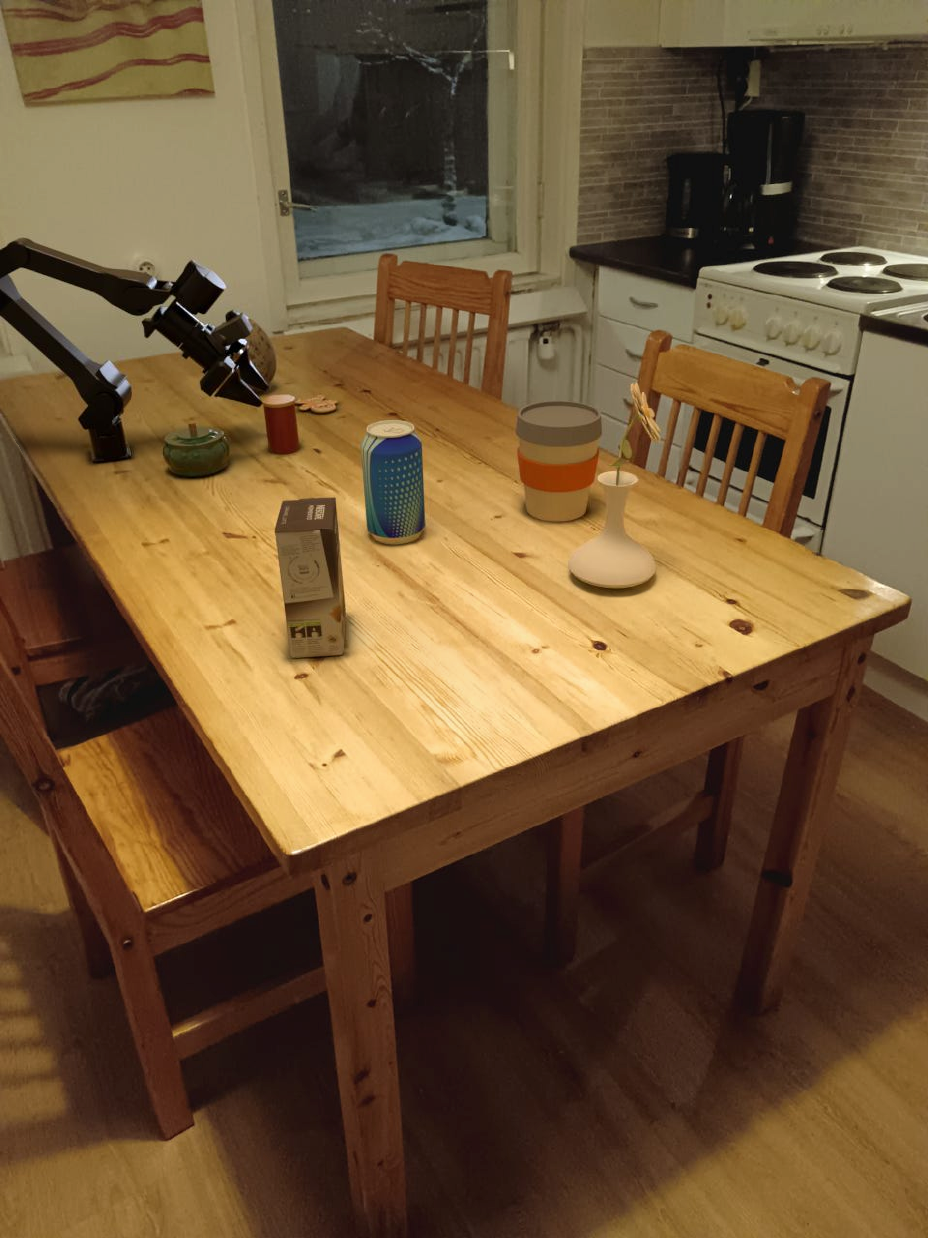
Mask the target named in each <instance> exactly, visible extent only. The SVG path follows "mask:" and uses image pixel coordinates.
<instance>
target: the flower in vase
mask: <svg viewBox="0 0 928 1238" xmlns="http://www.w3.org/2000/svg"><path fill="white" fill-rule="evenodd" d="M630 394H631V397H632V398H631V399H632V401H633V404H634V407H635V410H636V412H635V415H634V416H633V418H632V420H631V422H630V423H629V424H628V426H627V428H626V430H625V432H624V434H623V436H622V438H621V441H620V444H619V445H620V446H619V451H618V458H617V460H615V462H613V463H610V464H608V466H609V467H616V470H609V471H605V472H602V473H600V474H598V475H597V478H596V479H597V481H598V483H599V484H600V485H601V487H602V488H603V492H604V496H605V497H604V498H605V506H606V516H605V524H604V527H603V530H602V531H601V532H600V533H598V534H597V535H596V536H595V537H593V538H591V539H589V540H587V541H585V542H584V543H582V544H581V545H579V546H578V547H577V548H576V549H575V550H574V551H573V552H572V553H571V555H570V557H569V559H568V562H567V564H568V568H569V570H570V572H571V573H572V575H573V576H574V577H575V578H576V579H578V580H580V581H581V582H582V583H585V584H588V585H591V586H595V587H599V588H605V589H606V588H607V589H625V588H632V587H637V586H639V585H641V584H644V583H646V582H648V581H649V580H650V579H651V578H652V577H653V575H654V574H655V573H656V571H657V564H656V562H655V558H654V557H653V555H652V554H651V553H650V552H649V550H647V548H645V547H644V546H643V545H641V544H640V543H639V542H637V541H636V540H635V539H633V538H632V537H630V536H629V535H628V533H627V531H626V529H625V511H626V505H627V501H628V497H629V494H630V492H631V490H632V489H633V488H634V487H635V485H636V484H637V483H638V481H639V478H638V476H637V475H635V474H634V473H631V472H628V471H622V470H621V466H622V465H625V464H627V463H629V462H630V459H631V458H632V456H633V449H632V447H631V444H630V441H629V440H627V439H626V438H627V436H628V434H629V432H630V431H631V429H632V427H633V425H634V423H635V422H636V421H637V420H638V421H640V422H641V424H642V426H643V428H644V430H645V431H646V433H647V435H648V437H649V438H650V440H651V441H652V442H654V443H658V441H659V442H660V441H662V438H661V436H660V434H659V433H661V428H660V426H659V425H658V424H657V423H656V421H655V420H654V418H655V415H656V414H655V412H654V410H653V408H651V407H649V403H648V402H647V401H648V400H647V395H646V393H645V392H644V391H642V392H641V390H640V386H639V383H638V382H637V381H636V382H635V383H633V382H632V383H631V384H630ZM622 454H623V456H624V457H625V458H626V459H627V460H626V459H624V458H622Z"/></svg>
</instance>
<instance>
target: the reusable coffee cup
mask: <svg viewBox="0 0 928 1238" xmlns="http://www.w3.org/2000/svg"><path fill="white" fill-rule="evenodd" d="M515 424H516V425H515V435H516V436H517V440H518V447H517V451H516V454H517V462H518V463H517V464H518V470H519V471H518V472H519V480H520V481H521V483H522V485H523V491H524V498H525V506H526V507H525V508H526V512H527V513H528V515H530V516H531V517H533V518H535V519H538V520H541V521H546V522H555V523H556V522H559V523H560V522H569V521H573V520H577V519H579V518H581V517H583V516H584V515H585V513H586V511H587V506H588V501H589V496H590V489H591V486H592V485H593V483H594V482H595V478H596V472H597V467H598V462H599V456H600V449H599V447H598V446H599V441H600V438H601V437H602V436H603V425H602V412H601V411H600V409H599V408H598V407H595V406H594V405H591V404H588V403H585V402H579V401H572V400H546V401H544V400H543V401H538V402H533V403H530V404H527V405H524V406H522V407H521V408H519V410H518V411H517V416H516V423H515Z"/></svg>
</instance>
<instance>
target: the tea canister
mask: <svg viewBox="0 0 928 1238" xmlns="http://www.w3.org/2000/svg"><path fill="white" fill-rule="evenodd" d="M261 401H262V402H263V404H262V407H263V415H264V423H265V431H266V439H267V447H268V451H269V452H270V453H272V454H276V455H286V454H287V455H288V454H292V453H295V452H297V451H298V450H299V449H300V440H299V431H298V430H299V429H298V421H297V414H296V412H297V411H296V404H295V401H296V398H295V397H294V396H293V395H290V394H274V395H269V396H266V397H264V398H262V399H261Z"/></svg>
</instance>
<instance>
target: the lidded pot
mask: <svg viewBox="0 0 928 1238" xmlns="http://www.w3.org/2000/svg"><path fill="white" fill-rule="evenodd" d="M187 424H188V425H187V426H188V427H184V428H180V429H177V430H173V431H171V432H169V433H168V434H166V435H165V437H164V445H163V447H162V457H163V459H164V462H165V463H166V464H167V465H168V466H169V470H170V472H172V473H173V474H175V475H179V476H183V477H189V478H197V477H199V478H200V477H205V476H210V475H214V474H216V473H217V472H220V471H221V470H223V469H225V468H226V467H227V466H228V463H229V461H228V458H229V456H230V453H231V447H230V443H229V440H228V439H227V437H226V436H225V435H224V431H223V430H222V429H220V428H217V427H213V426H197V422H196V421H189V422H187Z"/></svg>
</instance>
